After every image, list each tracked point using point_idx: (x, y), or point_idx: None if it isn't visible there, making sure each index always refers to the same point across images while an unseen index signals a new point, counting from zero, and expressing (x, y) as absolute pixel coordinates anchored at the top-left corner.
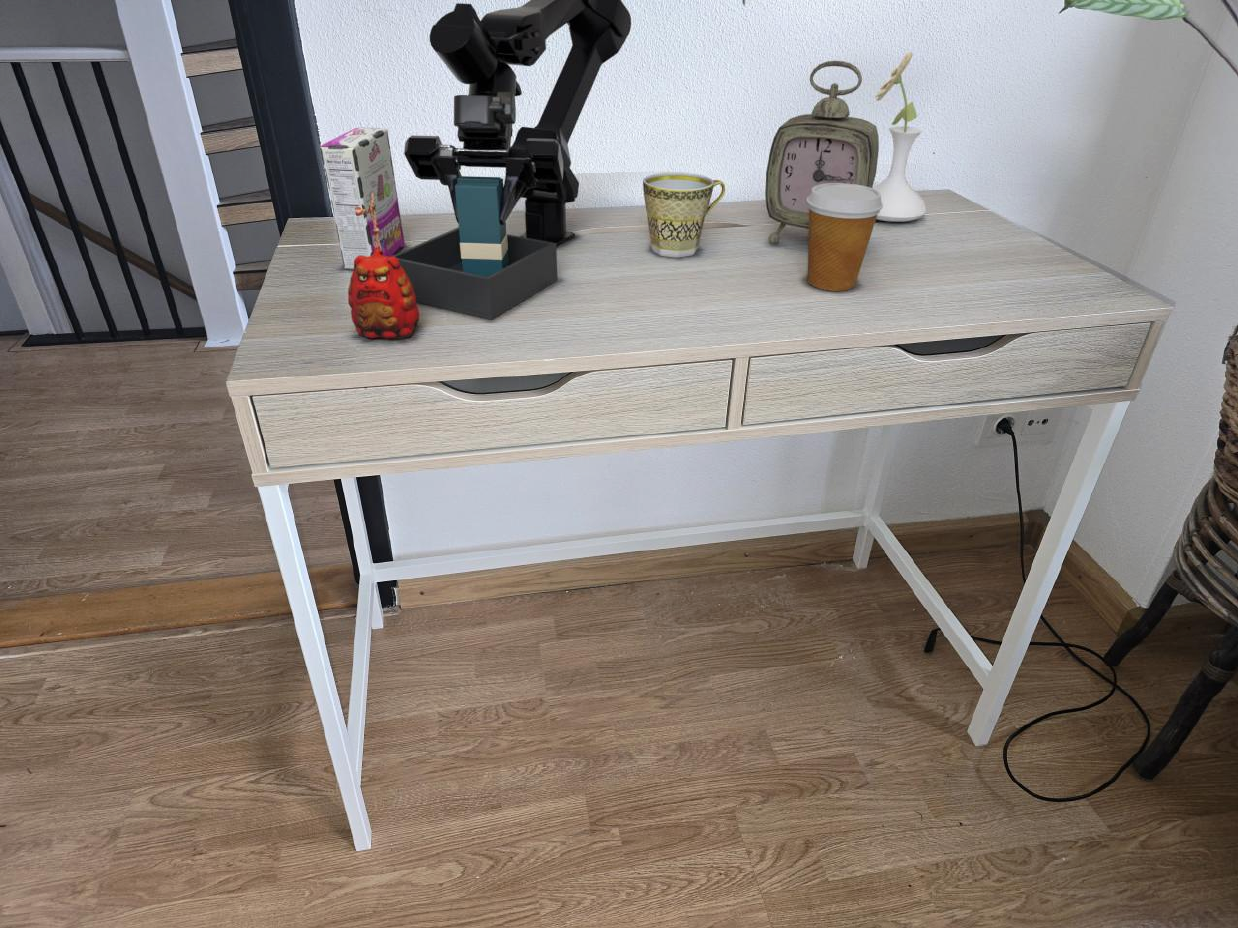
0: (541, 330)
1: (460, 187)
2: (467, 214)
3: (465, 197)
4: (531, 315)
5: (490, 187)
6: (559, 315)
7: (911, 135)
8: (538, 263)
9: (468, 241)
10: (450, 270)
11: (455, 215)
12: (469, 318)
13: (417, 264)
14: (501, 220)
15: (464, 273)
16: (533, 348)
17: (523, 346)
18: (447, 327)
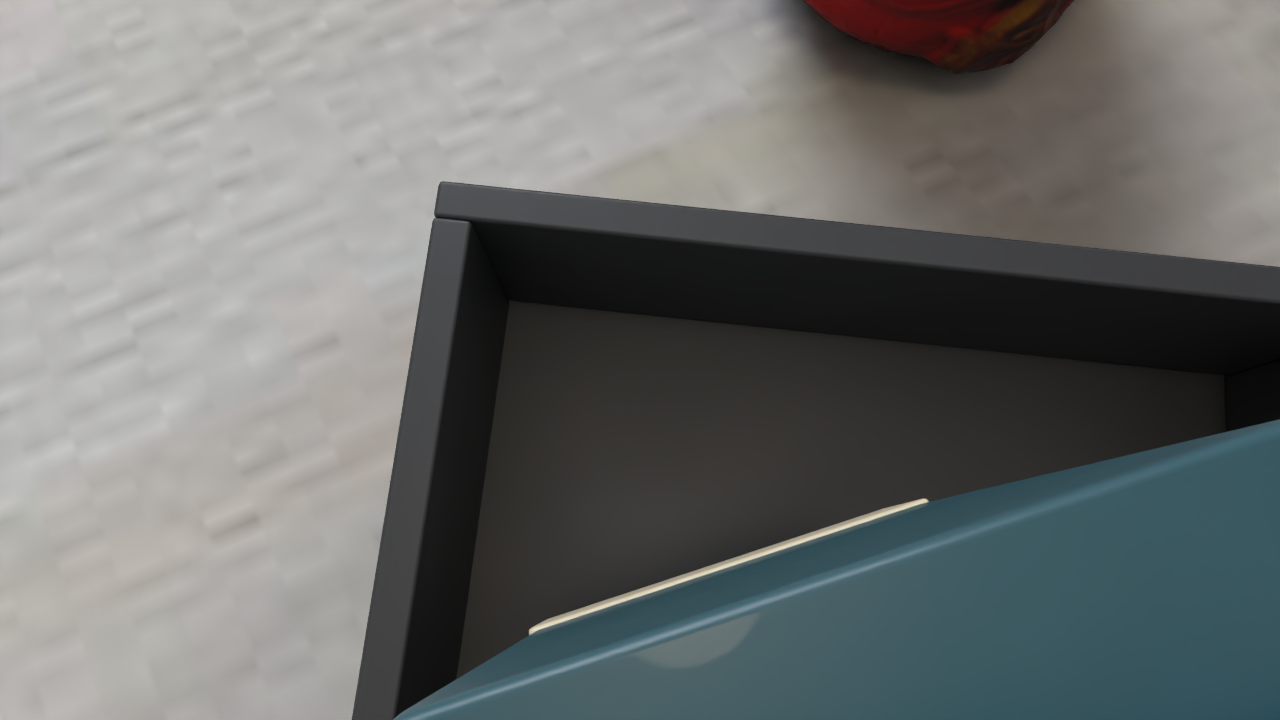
0: (161, 265)
1: (1180, 454)
2: (915, 517)
3: (1011, 497)
4: (298, 436)
5: (533, 676)
6: (132, 504)
7: None
8: None
9: (849, 527)
10: (804, 225)
11: None
12: None
13: (1125, 252)
14: None
15: (671, 216)
16: (122, 53)
17: (181, 55)
18: (672, 107)
